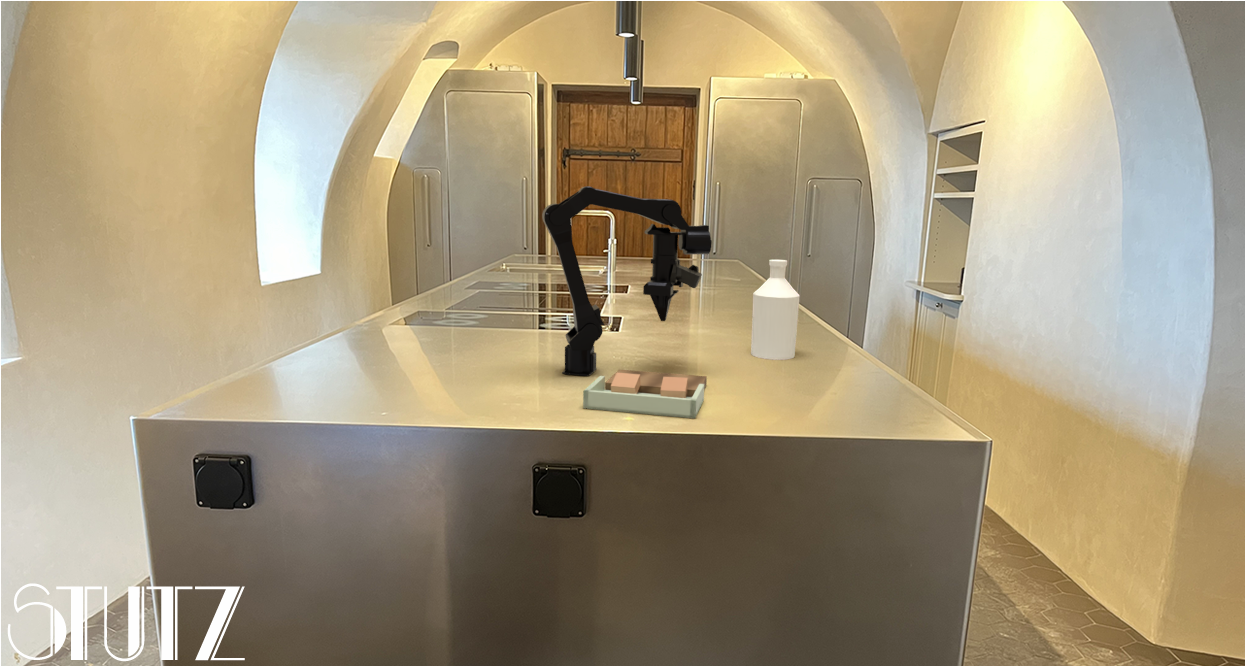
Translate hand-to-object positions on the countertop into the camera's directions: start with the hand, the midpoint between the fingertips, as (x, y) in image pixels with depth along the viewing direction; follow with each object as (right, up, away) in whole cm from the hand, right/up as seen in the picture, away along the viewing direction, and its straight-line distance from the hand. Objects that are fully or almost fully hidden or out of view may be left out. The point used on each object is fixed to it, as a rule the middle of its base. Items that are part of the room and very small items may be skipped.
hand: (663, 320), depth 170 cm
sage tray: (-5, -17, -25) cm, 31 cm away
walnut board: (-2, -15, -13) cm, 20 cm away
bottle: (+30, -9, +22) cm, 38 cm away
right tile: (+1, -15, -22) cm, 27 cm away
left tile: (-9, -15, -20) cm, 26 cm away
